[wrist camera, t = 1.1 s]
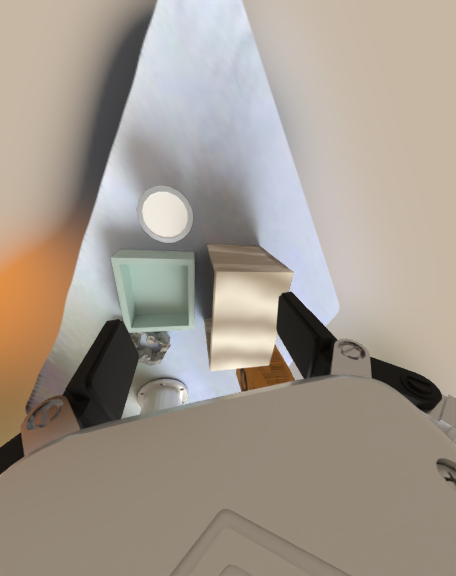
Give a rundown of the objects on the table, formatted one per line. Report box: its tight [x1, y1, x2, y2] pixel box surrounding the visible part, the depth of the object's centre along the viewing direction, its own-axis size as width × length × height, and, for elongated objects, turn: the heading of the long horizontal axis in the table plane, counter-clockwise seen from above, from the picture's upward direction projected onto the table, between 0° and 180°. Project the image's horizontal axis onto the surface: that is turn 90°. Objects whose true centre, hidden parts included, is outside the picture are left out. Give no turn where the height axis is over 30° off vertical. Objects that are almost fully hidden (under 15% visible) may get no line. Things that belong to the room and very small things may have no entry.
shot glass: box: [137, 186, 193, 243], centre depth 26 cm, size 7×7×7 cm
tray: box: [111, 249, 195, 333], centre depth 33 cm, size 14×12×4 cm
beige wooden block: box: [204, 244, 294, 371], centre depth 32 cm, size 17×10×13 cm, turn 175°
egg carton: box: [130, 331, 170, 365], centre depth 38 cm, size 11×8×4 cm
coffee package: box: [236, 345, 295, 392], centre depth 39 cm, size 10×12×22 cm
